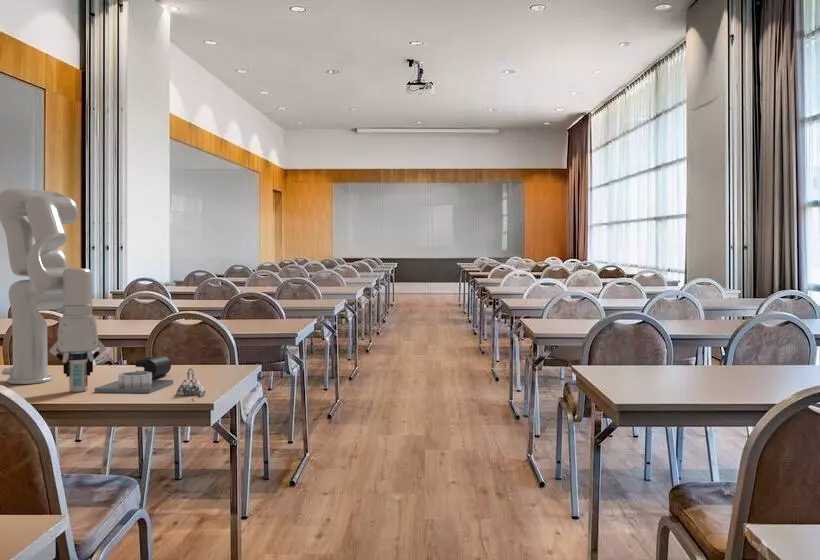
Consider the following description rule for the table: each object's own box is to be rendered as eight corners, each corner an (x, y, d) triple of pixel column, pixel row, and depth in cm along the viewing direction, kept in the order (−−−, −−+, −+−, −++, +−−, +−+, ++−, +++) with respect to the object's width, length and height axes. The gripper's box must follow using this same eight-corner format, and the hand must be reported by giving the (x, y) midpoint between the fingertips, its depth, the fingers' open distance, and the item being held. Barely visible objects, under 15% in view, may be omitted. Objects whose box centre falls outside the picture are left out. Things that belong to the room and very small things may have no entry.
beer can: (83, 389, 202) (82, 347, 202) (90, 390, 199) (90, 348, 199) (66, 391, 199) (65, 349, 198) (73, 393, 196) (73, 350, 195)
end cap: (156, 381, 217) (156, 359, 217) (134, 381, 218) (134, 359, 218) (171, 376, 227) (171, 355, 227) (150, 376, 228) (150, 355, 228)
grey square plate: (94, 392, 197) (94, 377, 197) (122, 383, 213) (122, 369, 213) (149, 393, 196) (149, 378, 195) (173, 383, 212) (173, 370, 211)
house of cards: (161, 399, 189) (161, 370, 189) (175, 393, 197) (175, 366, 197) (193, 399, 188) (193, 371, 188) (206, 394, 196) (206, 366, 196)
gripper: (43, 313, 192) (44, 379, 192) (110, 311, 199) (111, 375, 199) (44, 311, 198) (45, 376, 199) (109, 310, 206) (110, 372, 206)
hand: (78, 375), depth 199 cm, fingers closed on beer can, 4 cm apart
